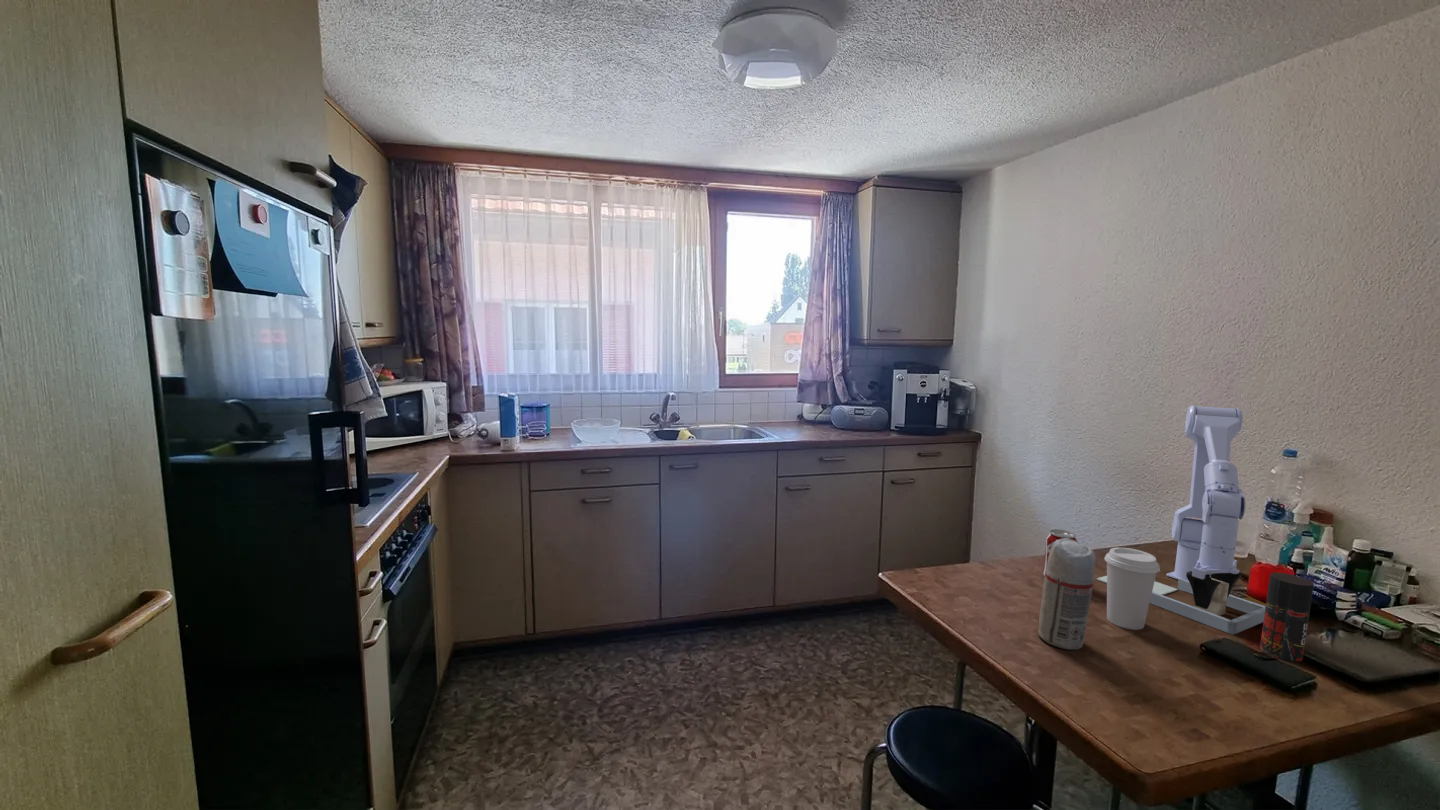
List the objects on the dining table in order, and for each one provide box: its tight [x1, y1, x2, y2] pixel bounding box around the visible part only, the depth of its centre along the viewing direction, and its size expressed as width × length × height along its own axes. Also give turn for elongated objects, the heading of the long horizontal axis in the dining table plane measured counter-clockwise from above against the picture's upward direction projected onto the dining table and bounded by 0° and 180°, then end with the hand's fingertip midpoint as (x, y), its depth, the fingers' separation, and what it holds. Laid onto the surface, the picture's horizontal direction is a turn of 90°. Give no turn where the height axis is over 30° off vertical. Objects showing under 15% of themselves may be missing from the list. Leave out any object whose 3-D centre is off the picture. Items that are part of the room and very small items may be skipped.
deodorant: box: [1259, 572, 1315, 663], centre depth 111 cm, size 6×6×15 cm
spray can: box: [1036, 538, 1097, 650], centre depth 113 cm, size 8×8×20 cm
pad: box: [1096, 575, 1179, 596], centre depth 142 cm, size 12×12×1 cm
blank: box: [1193, 578, 1229, 617], centre depth 128 cm, size 4×4×7 cm
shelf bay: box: [1149, 578, 1266, 636], centre depth 129 cm, size 16×17×2 cm
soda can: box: [1042, 529, 1078, 577], centre depth 143 cm, size 7×7×12 cm
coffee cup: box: [1104, 547, 1161, 631], centre depth 122 cm, size 10×10×15 cm
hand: (1210, 603), depth 128 cm, fingers open, 7 cm apart
